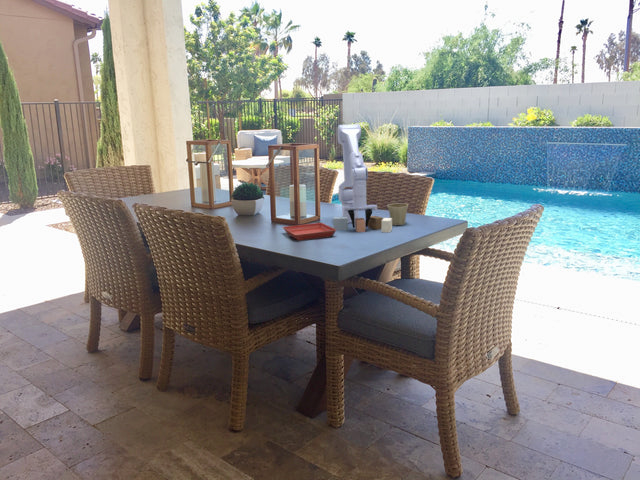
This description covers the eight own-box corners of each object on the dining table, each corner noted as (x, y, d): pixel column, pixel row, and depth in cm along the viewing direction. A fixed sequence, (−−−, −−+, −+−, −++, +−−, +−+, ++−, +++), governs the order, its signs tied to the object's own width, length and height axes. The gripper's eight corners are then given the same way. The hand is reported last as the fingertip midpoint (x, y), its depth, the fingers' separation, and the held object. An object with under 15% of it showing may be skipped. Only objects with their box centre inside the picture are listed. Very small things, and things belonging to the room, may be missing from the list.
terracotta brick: (355, 229, 228) (355, 218, 227) (363, 228, 229) (363, 217, 227) (357, 232, 223) (356, 220, 221) (365, 231, 223) (365, 220, 222)
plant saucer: (282, 233, 226) (282, 226, 225) (321, 229, 232) (321, 222, 231) (295, 243, 209) (295, 234, 209) (337, 237, 216) (337, 229, 215)
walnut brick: (367, 227, 230) (367, 216, 229) (374, 226, 232) (374, 215, 231) (376, 230, 225) (376, 218, 224) (382, 228, 227) (382, 217, 226)
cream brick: (384, 229, 226) (384, 217, 225) (392, 229, 225) (392, 218, 224) (381, 232, 221) (381, 220, 220) (389, 232, 220) (389, 220, 219)
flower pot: (384, 225, 233) (383, 206, 231) (391, 221, 241) (391, 202, 239) (404, 227, 229) (404, 207, 227) (411, 222, 237) (411, 203, 235)
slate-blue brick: (333, 229, 229) (332, 218, 228) (334, 228, 232) (333, 217, 231) (347, 229, 228) (346, 218, 227) (347, 228, 231) (347, 216, 230)
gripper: (343, 197, 218) (344, 229, 221) (378, 196, 218) (378, 228, 222) (341, 195, 225) (342, 226, 228) (375, 193, 225) (375, 224, 228)
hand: (360, 227), depth 225 cm, fingers open, 5 cm apart
